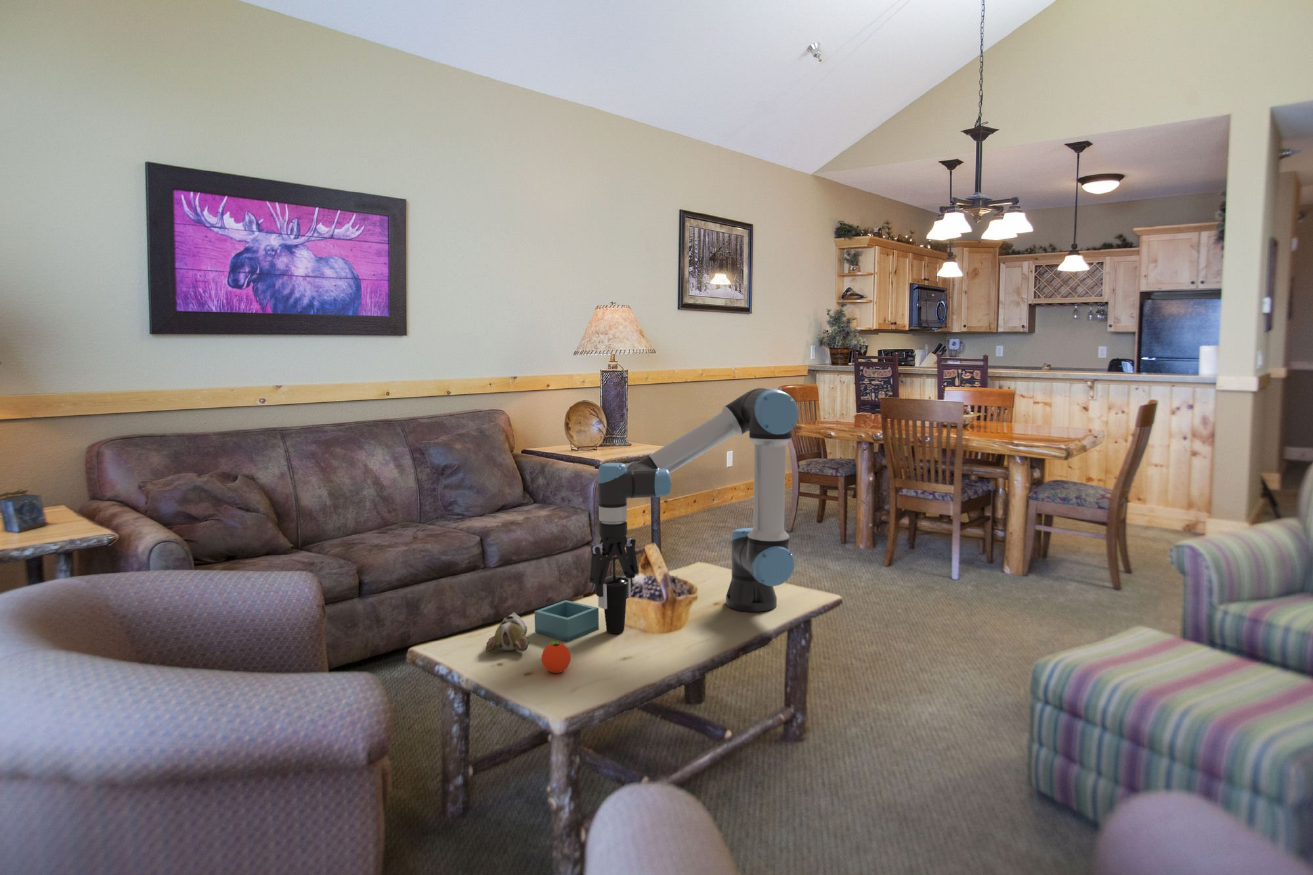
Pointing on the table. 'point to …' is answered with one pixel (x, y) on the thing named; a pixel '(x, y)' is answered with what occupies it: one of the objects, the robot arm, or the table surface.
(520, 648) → the ceramic sculpture
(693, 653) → the table surface
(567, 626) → the teal bin
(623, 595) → the drinking cup
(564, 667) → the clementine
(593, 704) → the table surface
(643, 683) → the table surface
